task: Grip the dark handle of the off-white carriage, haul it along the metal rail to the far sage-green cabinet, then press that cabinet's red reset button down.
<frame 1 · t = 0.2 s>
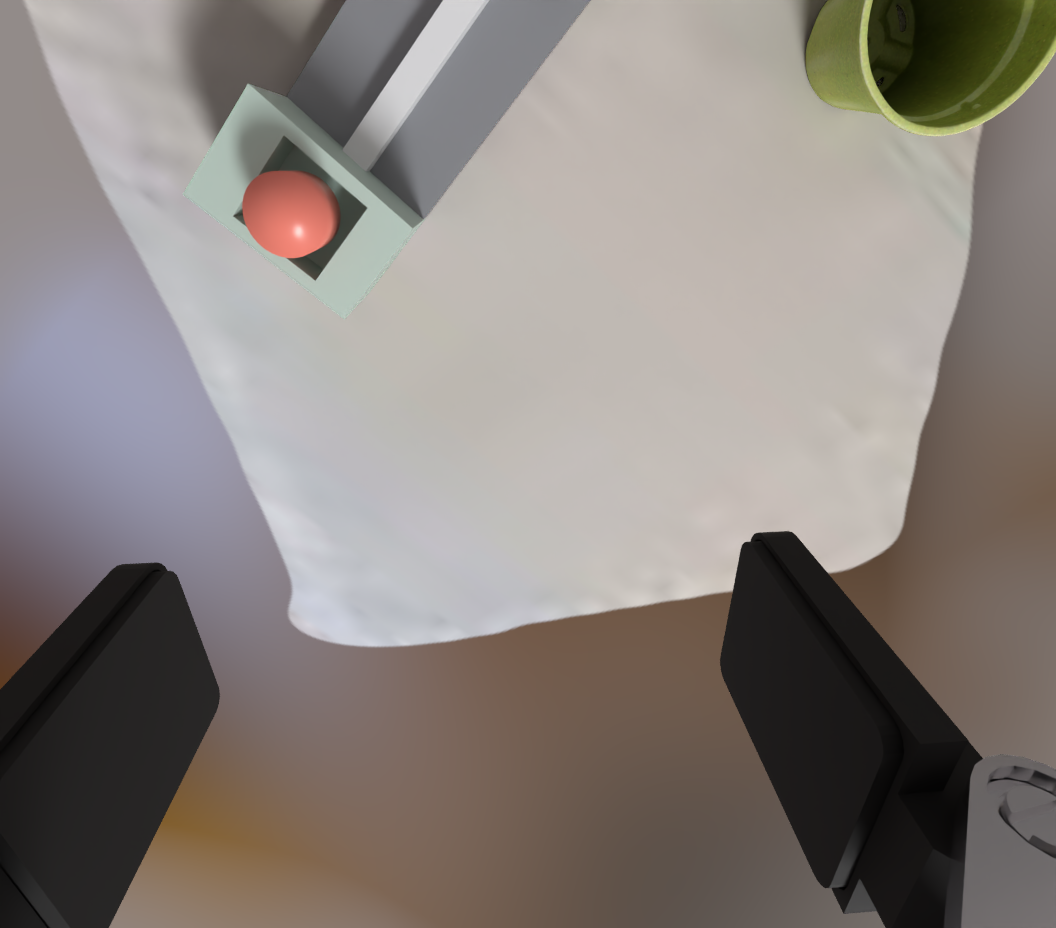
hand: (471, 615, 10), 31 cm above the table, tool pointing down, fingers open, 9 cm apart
reset button: (294, 213, 27), point 8 cm above the table, slide at 0.0 cm
plant pot: (854, 47, 32), on the table
rail track: (450, 36, 31), on the table
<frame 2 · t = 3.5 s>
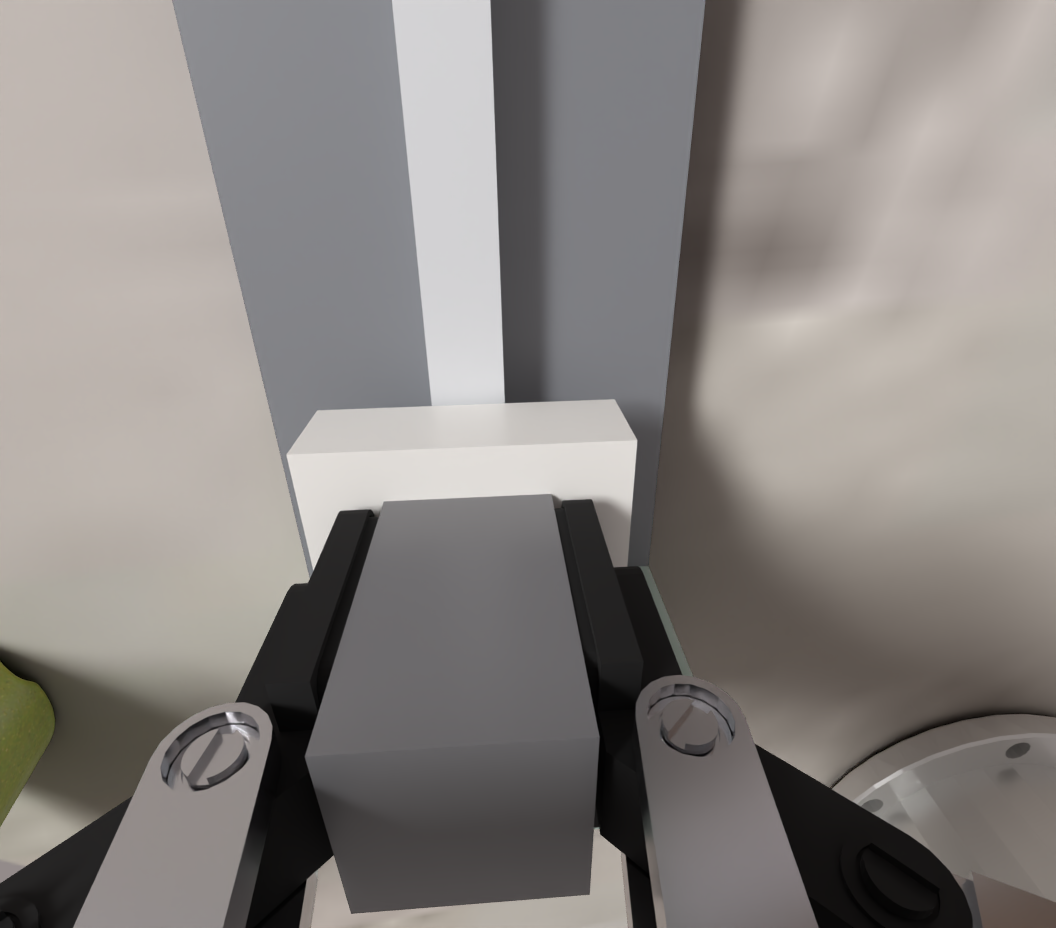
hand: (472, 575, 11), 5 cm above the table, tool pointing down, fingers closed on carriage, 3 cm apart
carriage: (471, 619, 10), point 6 cm above the table, slide at 0.0 cm, touching gripper
rail track: (458, 149, 12), on the table
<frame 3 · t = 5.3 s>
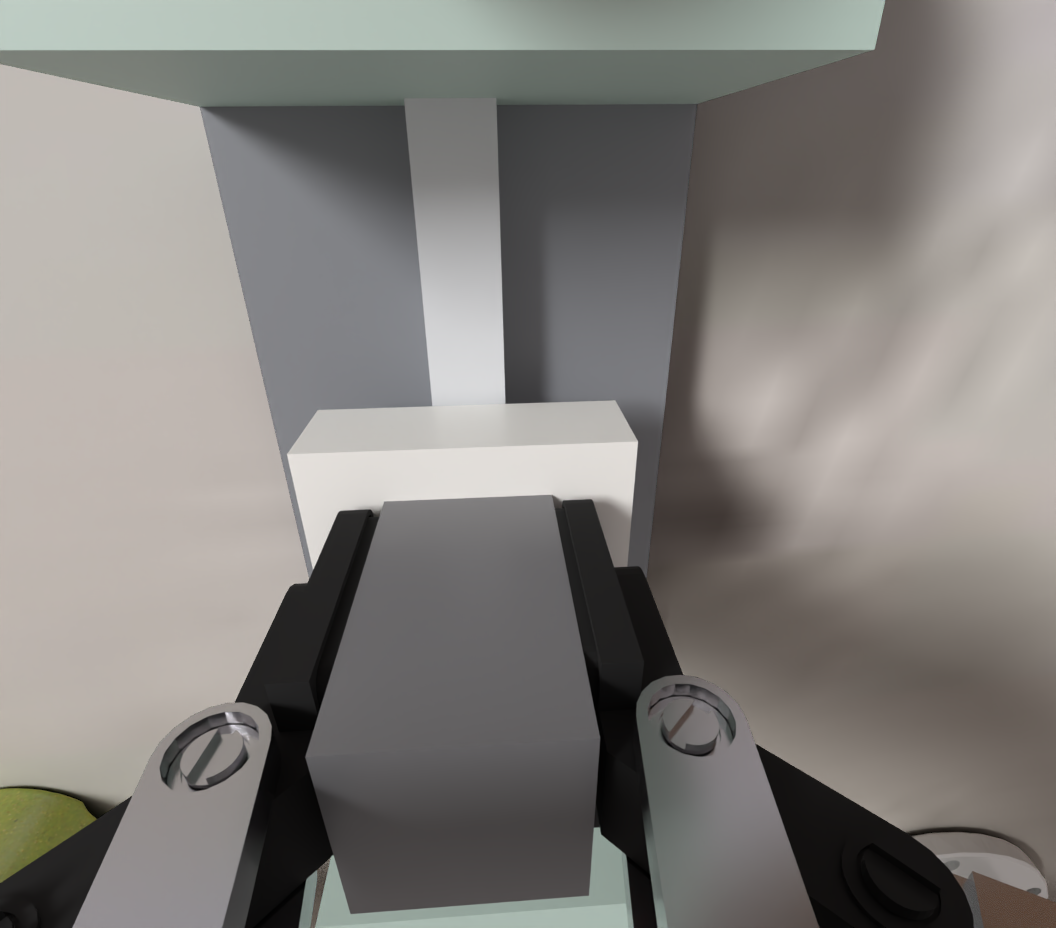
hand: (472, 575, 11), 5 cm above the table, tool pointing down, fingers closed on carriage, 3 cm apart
carriage: (471, 620, 10), point 6 cm above the table, slide at 7.3 cm, touching gripper
plant pot: (46, 828, 22), on the table
rail track: (477, 460, 15), on the table
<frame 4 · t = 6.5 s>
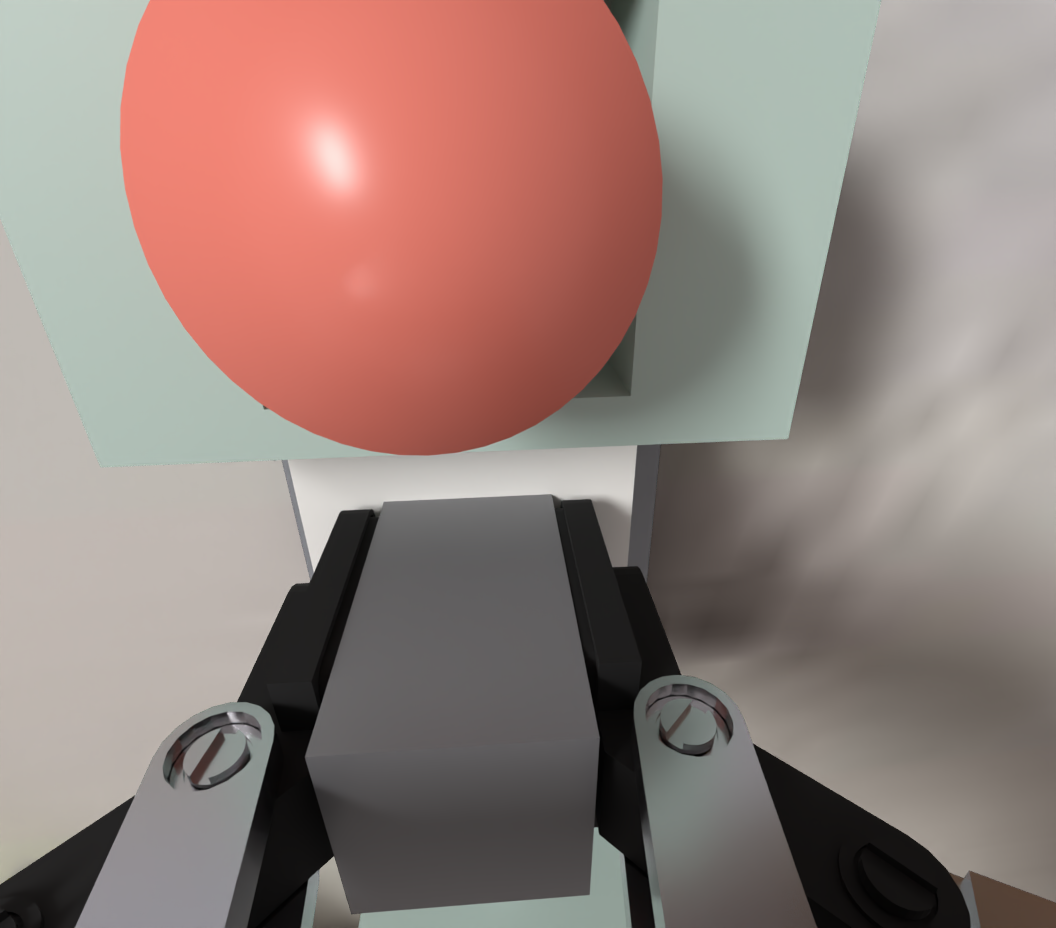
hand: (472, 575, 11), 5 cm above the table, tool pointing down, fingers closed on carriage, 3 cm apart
carriage: (471, 620, 10), point 6 cm above the table, slide at 11.7 cm, touching gripper
reset button: (424, 208, 5), point 8 cm above the table, slide at 0.0 cm
rail track: (485, 587, 17), on the table
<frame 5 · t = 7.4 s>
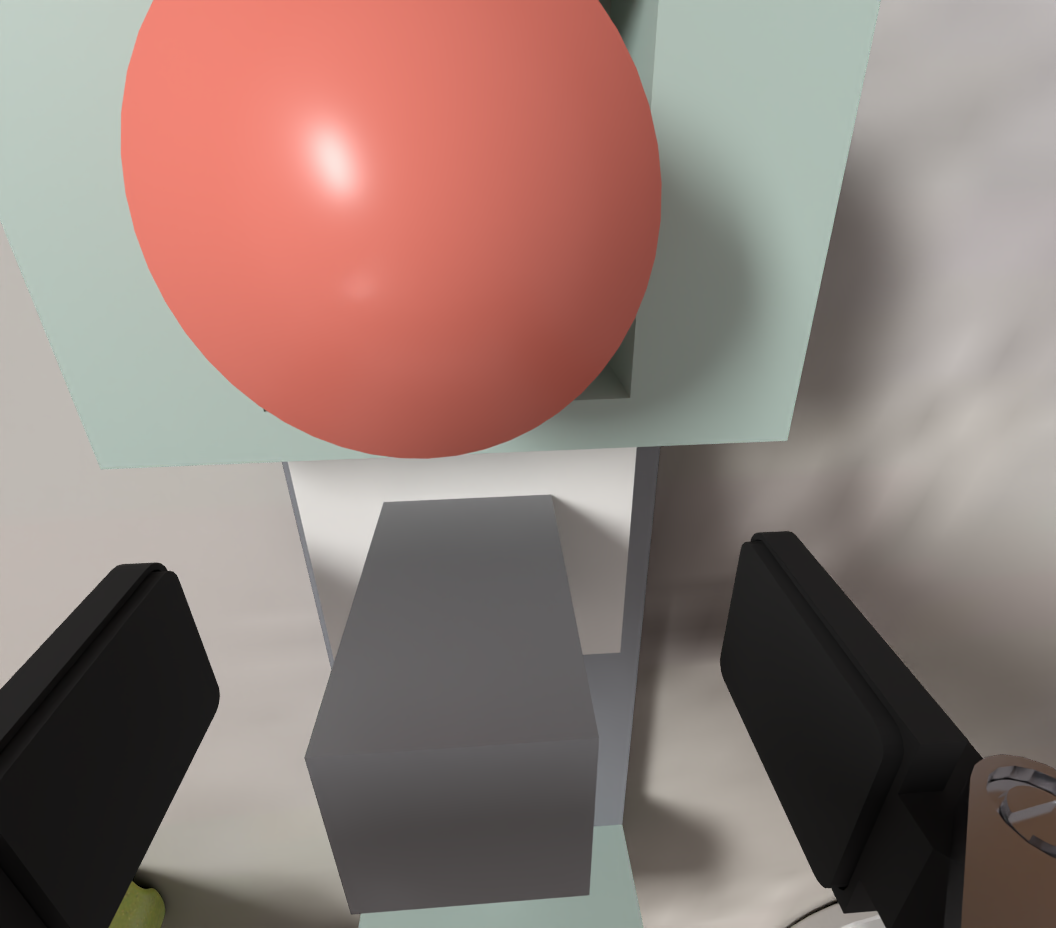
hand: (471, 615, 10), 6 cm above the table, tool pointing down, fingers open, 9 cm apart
carriage: (471, 620, 10), point 6 cm above the table, slide at 11.7 cm
reset button: (424, 211, 5), point 8 cm above the table, slide at 0.0 cm
plant pot: (91, 892, 24), on the table
rail track: (485, 588, 17), on the table
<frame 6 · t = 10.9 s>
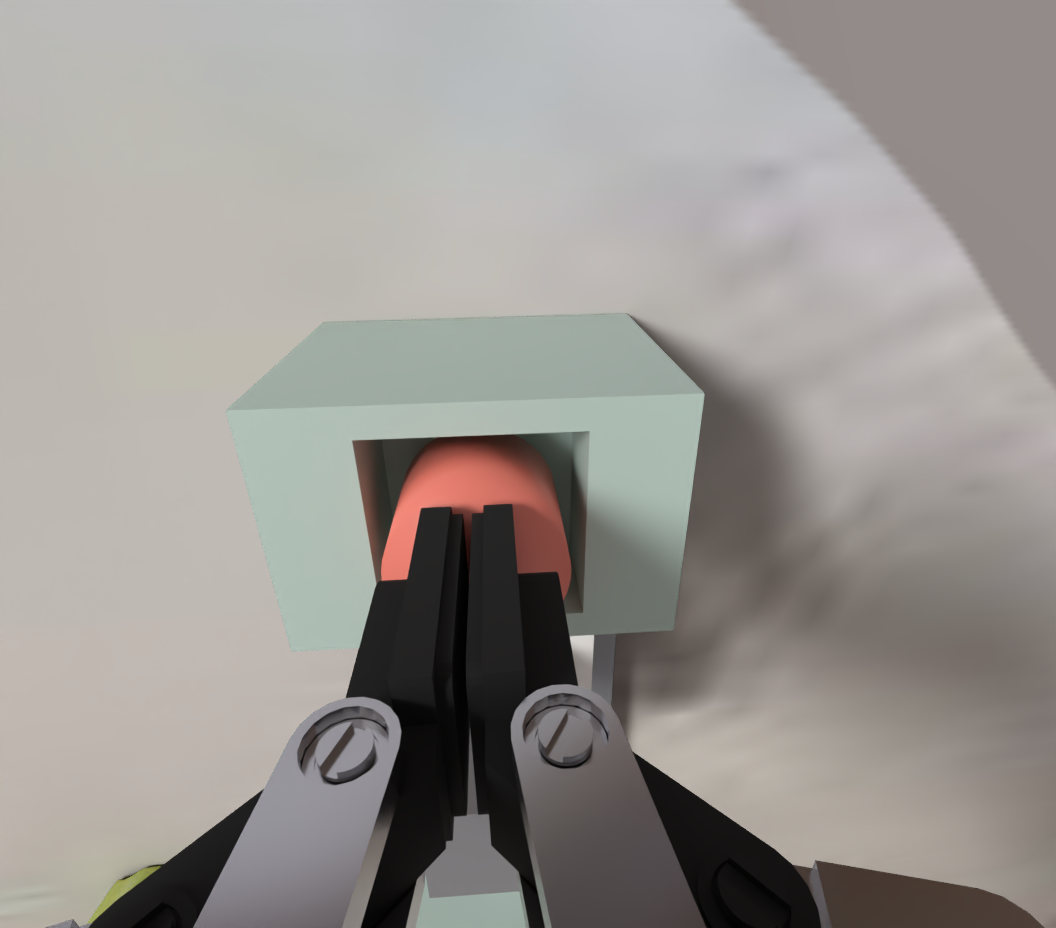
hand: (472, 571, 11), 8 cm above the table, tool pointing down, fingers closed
carriage: (491, 719, 16), point 6 cm above the table, slide at 11.7 cm
reset button: (478, 532, 12), point 7 cm above the table, slide at 1.1 cm, touching gripper
plant pot: (178, 891, 30), on the table
rail track: (496, 663, 23), on the table
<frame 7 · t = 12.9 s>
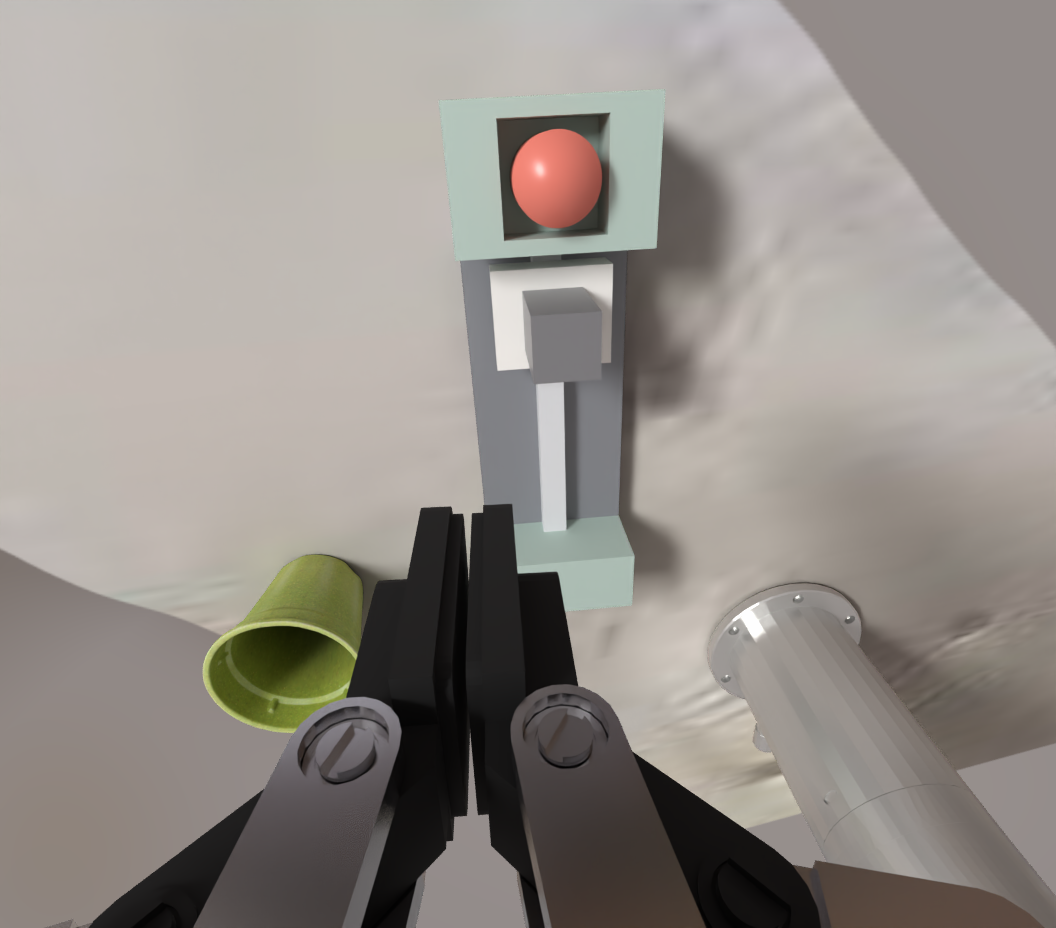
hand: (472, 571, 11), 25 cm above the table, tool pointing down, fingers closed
carriage: (556, 327, 28), point 6 cm above the table, slide at 11.7 cm
reset button: (553, 178, 24), point 7 cm above the table, slide at 1.5 cm
plant pot: (321, 583, 42), on the table
rail track: (545, 373, 35), on the table
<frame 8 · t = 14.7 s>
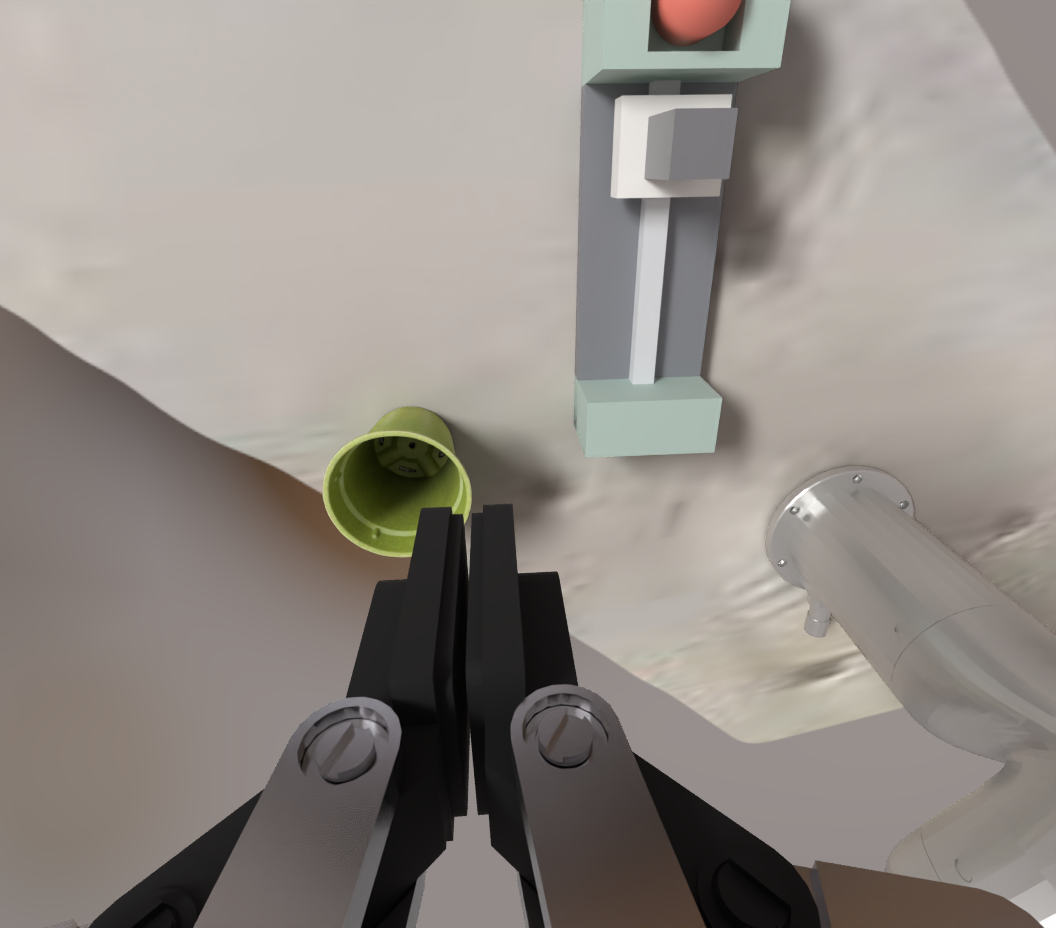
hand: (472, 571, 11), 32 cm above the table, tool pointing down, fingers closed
carriage: (681, 147, 31), point 6 cm above the table, slide at 11.7 cm
plant pot: (413, 440, 45), on the table
rail track: (645, 228, 38), on the table
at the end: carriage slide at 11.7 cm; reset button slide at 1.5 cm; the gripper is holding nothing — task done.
